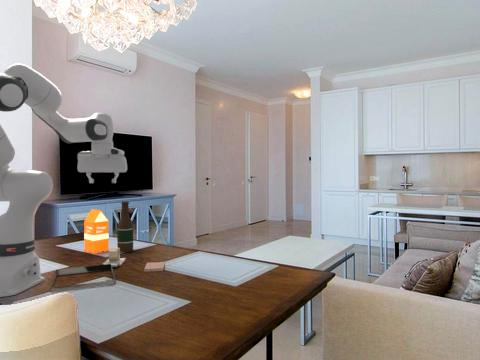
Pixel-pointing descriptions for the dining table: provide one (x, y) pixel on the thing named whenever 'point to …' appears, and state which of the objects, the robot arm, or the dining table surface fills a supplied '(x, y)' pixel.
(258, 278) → the dining table surface
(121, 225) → the beer bottle
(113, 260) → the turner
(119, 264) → the mat
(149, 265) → the tile
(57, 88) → the robot arm
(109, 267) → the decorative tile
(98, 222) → the orange juice
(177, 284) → the dining table surface
